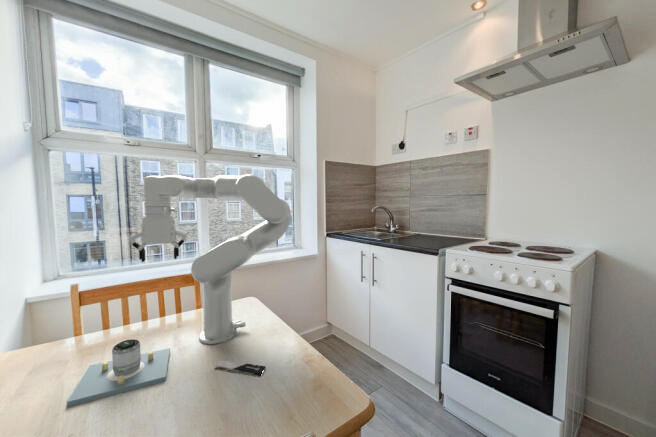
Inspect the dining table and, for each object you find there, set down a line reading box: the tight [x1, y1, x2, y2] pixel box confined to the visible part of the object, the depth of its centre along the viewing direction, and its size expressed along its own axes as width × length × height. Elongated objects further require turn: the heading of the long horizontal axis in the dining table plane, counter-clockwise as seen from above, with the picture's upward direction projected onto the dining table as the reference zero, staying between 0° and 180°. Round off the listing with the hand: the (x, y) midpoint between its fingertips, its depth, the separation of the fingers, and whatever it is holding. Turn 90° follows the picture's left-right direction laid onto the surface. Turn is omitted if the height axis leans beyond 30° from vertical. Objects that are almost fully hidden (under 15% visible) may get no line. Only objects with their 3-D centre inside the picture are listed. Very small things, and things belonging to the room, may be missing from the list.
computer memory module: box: [214, 360, 267, 378], centre depth 77 cm, size 15×1×4 cm
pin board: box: [66, 347, 171, 408], centre depth 74 cm, size 20×16×3 cm
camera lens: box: [111, 339, 142, 377], centre depth 74 cm, size 6×6×8 cm
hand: (159, 259), depth 93 cm, fingers open, 9 cm apart
